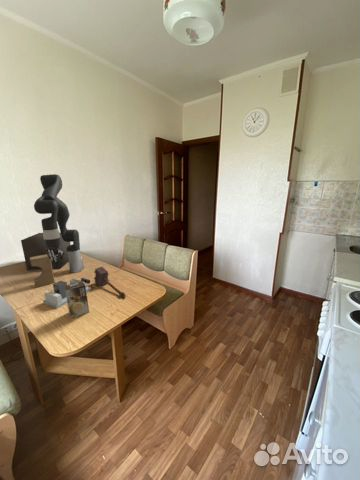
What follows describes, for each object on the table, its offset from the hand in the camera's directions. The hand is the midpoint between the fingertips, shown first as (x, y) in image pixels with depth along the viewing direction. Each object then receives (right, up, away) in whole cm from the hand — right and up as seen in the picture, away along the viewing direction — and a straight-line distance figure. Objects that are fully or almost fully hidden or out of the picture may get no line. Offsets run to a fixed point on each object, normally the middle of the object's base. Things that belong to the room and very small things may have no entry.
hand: (56, 266), depth 114 cm
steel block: (0, -19, +5) cm, 20 cm away
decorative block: (-23, -15, +24) cm, 37 cm away
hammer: (+25, -18, +17) cm, 35 cm away
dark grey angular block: (-41, -6, +60) cm, 73 cm away
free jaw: (+6, -15, +17) cm, 24 cm away
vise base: (+2, -19, +9) cm, 21 cm away
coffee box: (+16, -24, -7) cm, 30 cm away
